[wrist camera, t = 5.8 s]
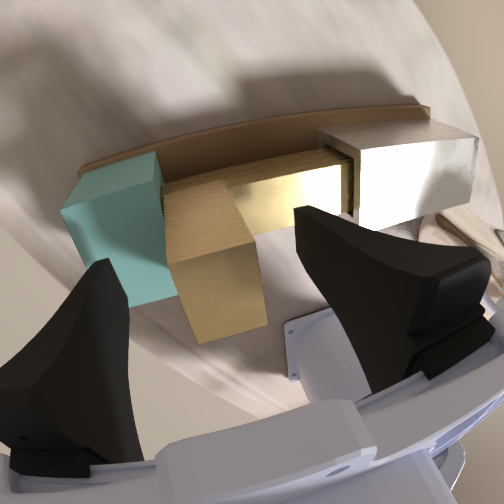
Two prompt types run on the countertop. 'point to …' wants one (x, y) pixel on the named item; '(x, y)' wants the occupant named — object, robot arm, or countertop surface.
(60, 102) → the countertop surface
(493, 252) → the beer glass
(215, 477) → the robot arm
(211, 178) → the wooden l-shaped block
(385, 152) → the white rectangular block
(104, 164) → the board
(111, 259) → the teal rectangular block
